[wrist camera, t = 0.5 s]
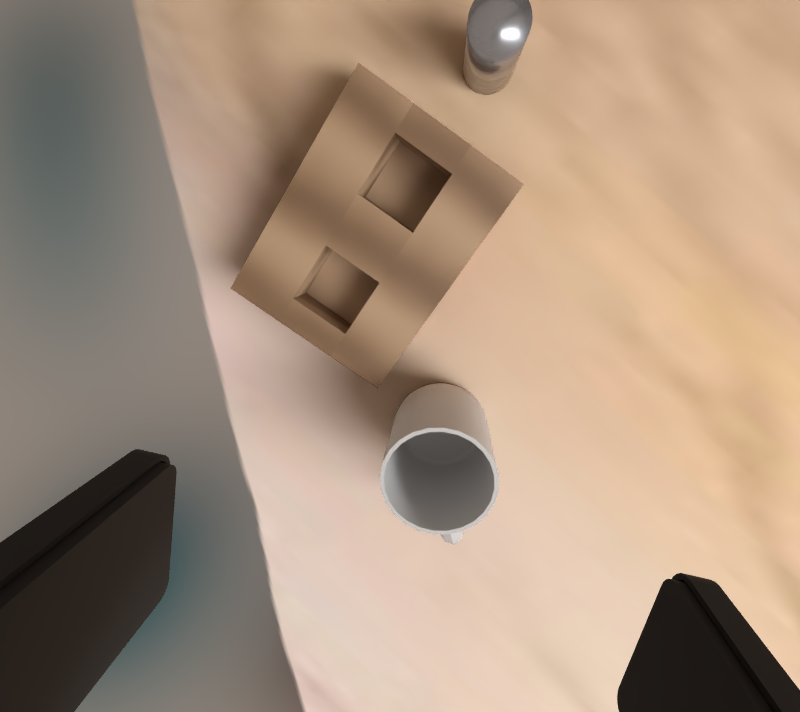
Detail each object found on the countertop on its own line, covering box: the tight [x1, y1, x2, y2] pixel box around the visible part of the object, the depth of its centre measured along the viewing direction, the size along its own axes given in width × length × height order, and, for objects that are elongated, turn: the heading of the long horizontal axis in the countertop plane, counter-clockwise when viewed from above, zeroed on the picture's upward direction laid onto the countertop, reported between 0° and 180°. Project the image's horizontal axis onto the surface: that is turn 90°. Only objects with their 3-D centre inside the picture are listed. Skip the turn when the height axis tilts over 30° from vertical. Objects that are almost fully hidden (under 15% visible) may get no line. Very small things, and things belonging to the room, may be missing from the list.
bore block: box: [231, 63, 524, 388], centre depth 32 cm, size 16×12×4 cm
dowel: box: [463, 0, 532, 95], centre depth 27 cm, size 3×3×7 cm
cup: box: [380, 383, 499, 544], centre depth 33 cm, size 7×10×9 cm
